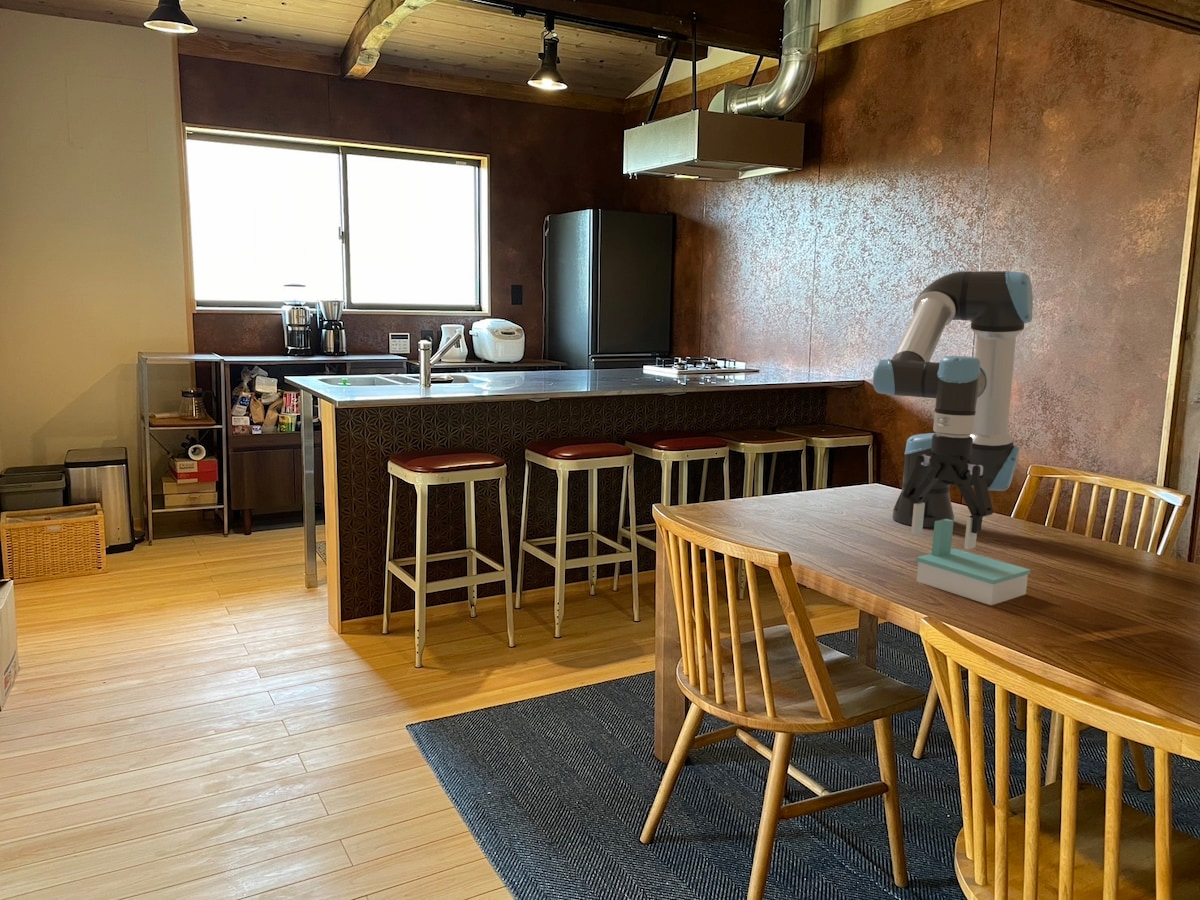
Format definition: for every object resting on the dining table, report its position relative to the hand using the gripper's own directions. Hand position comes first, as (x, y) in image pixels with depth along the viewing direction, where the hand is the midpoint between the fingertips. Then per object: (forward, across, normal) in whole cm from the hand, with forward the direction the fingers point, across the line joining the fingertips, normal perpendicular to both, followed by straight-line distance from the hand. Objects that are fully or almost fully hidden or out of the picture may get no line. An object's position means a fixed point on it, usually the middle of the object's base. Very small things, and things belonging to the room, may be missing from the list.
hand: (942, 540), depth 175 cm
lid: (+4, +7, 0) cm, 8 cm away
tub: (+9, +7, 0) cm, 11 cm away
